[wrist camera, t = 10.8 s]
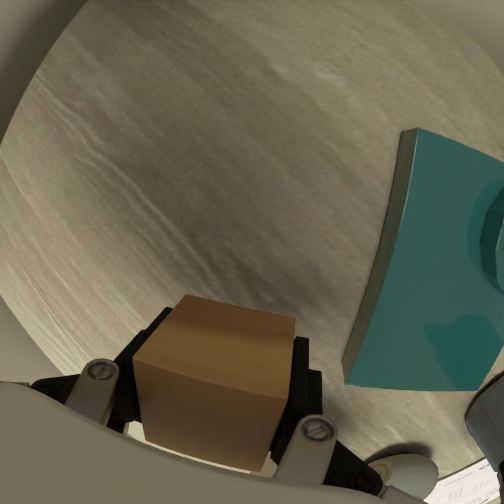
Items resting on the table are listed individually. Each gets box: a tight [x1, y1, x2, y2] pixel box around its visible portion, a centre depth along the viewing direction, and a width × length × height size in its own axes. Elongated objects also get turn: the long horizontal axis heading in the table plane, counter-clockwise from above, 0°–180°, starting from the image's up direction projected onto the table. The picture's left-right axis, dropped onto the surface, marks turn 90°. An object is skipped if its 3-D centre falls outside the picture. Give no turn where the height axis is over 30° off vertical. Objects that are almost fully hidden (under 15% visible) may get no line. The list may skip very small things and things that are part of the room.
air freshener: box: [368, 454, 439, 501], centre depth 19 cm, size 11×8×10 cm
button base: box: [342, 128, 504, 391], centre depth 14 cm, size 16×12×4 cm
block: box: [133, 294, 295, 472], centre depth 10 cm, size 4×4×4 cm
